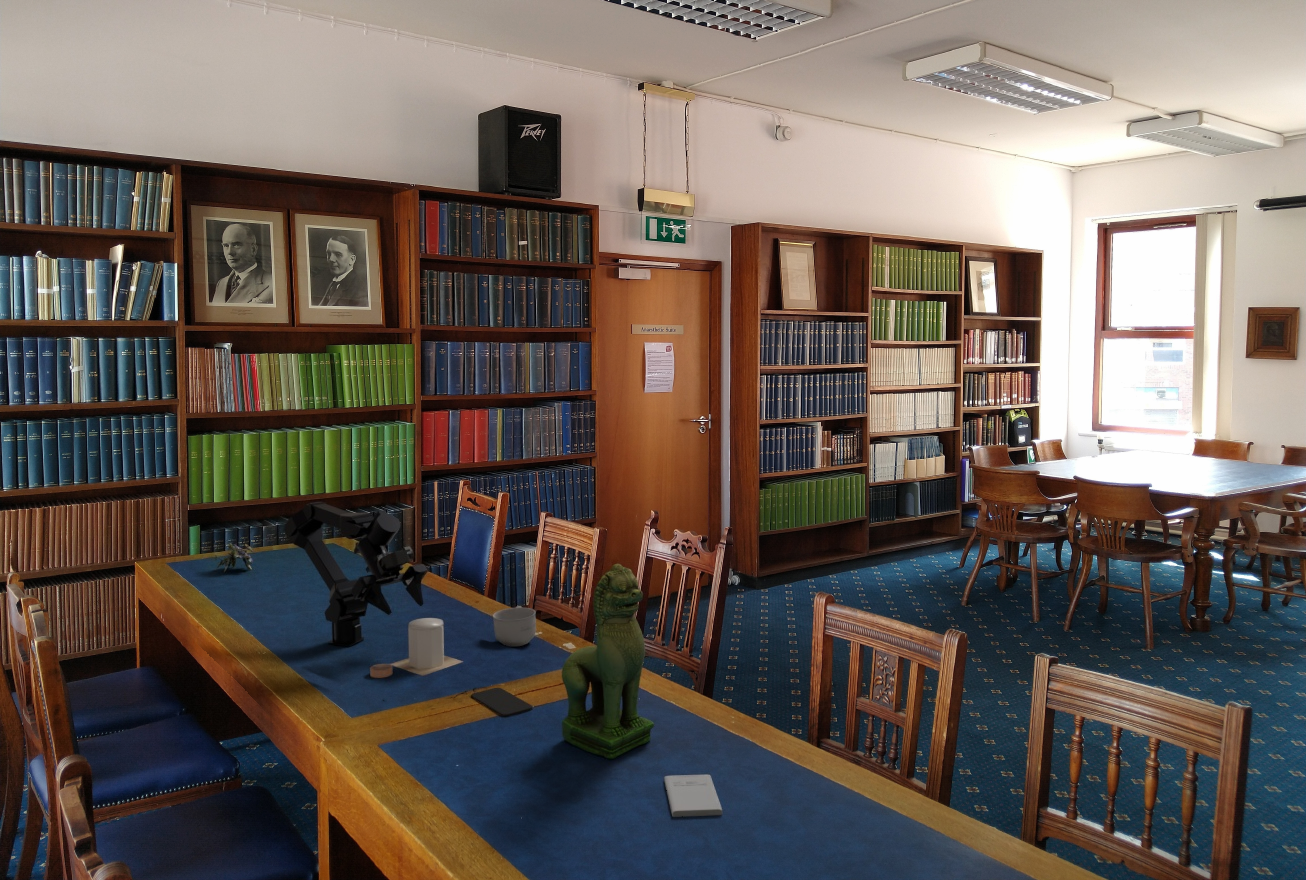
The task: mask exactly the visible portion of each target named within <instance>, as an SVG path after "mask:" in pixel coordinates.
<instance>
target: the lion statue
mask: <svg viewBox="0 0 1306 880" xmlns="http://www.w3.org/2000/svg"><path fill="white" fill-rule="evenodd" d="M593 592H594V593H593V598H592V600H593V601H592V605H593V615H594V619H595V624H596V625H595V626H596V645H595V646H594V645H590V646H584V647H581V648H578V649H577V650H575V651H574V652H572V653H571V654H570V655H569V656H568V657H567V658H566V660H565V661H564V664H563V666H562V669H561V680H562V683H563V685H564V687H565V692H566V695H567V700H568V701H567V702H568V708H567V709H568V710H567V716H566V717H565V718H563V720H562V721H561V730H562V731H561V732H562V733H561V734H562V738H563V740H564V741H565V742H567V743H569V744H570V745H572V746H575V747H577V748H579V749H581V750H583V751H585V752H589V753H590V754H593V755H596V756H601V757H604V758H606V759H608V760H614V759H615V758H618V757H620V756H621V755H623V754H625V753H628V752H629V751H630V750H632V749H635V748H637V747H641V746H642V745H644V744H645V745H646V744H647V743H648V742H650V740H651V737H652V736H651V730H652V729H653V728H654V727H655V723H654V722H653V721H652V720H650V719H649V718H646V717H642V716H640V715H639V714H638V698H639V689H640V682H641V676H642V671H643V667H644V666H643V665H644V661H645V656H646V644H645V638H644V635H643V632H642V629H641V628H640V624H639V622H638V620H637V618H636V616H635V614H636V613H637V612H638V611H639V603H640V602H642V600H643V598H644V597H643V596H644V593H643V591H642V590H641V588H639V581H638V579H637V578H636V576H635V575H634V573H633V571H632V569H630V568H628V567H624V566H623V565H622V564H620V563H615V564H613V565H612V567H611V568H610V570H609V571H607V572H605V574H603V575H602V576H601V577H600V580H599V581H598V582H597V584H596V586H595V588H594V591H593ZM590 689H591V691H590V692H591V707H590V709H588V710H587V707H586V704H587V703H586V702H587V697H588V693H589V690H590ZM621 706H622V707H621Z"/></svg>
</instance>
